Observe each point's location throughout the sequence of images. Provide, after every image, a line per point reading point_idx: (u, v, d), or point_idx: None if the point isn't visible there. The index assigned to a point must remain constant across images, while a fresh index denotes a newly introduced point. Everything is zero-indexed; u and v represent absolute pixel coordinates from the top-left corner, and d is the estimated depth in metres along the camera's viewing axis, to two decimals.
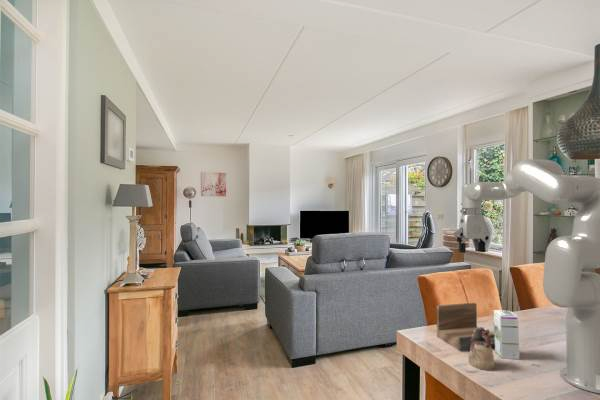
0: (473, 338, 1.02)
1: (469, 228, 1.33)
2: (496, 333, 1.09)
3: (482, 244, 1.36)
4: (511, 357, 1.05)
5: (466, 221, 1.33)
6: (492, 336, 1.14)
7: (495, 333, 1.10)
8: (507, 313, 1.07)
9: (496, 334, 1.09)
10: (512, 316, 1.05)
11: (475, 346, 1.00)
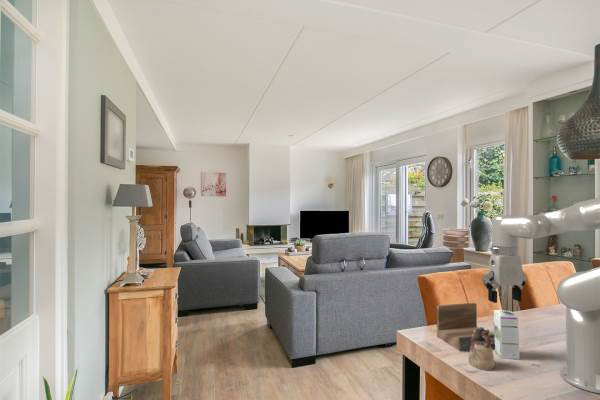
0: (473, 338, 1.02)
1: (502, 273, 1.05)
2: (496, 333, 1.09)
3: (517, 291, 1.09)
4: (511, 357, 1.05)
5: (498, 263, 1.06)
6: (492, 336, 1.14)
7: (495, 333, 1.10)
8: (507, 313, 1.07)
9: (496, 334, 1.09)
10: (512, 316, 1.05)
11: (475, 346, 1.00)
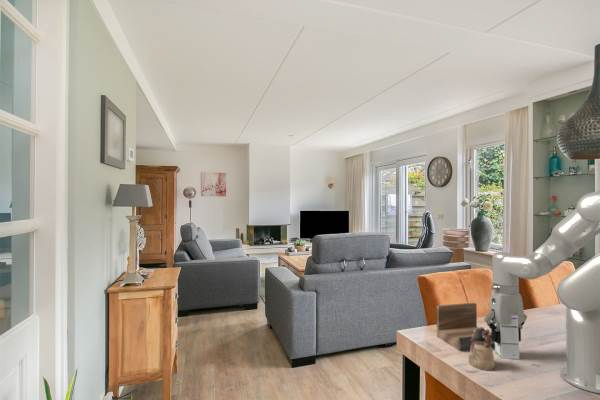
0: (473, 338, 1.02)
1: (503, 312, 1.05)
2: None
3: None
4: (511, 357, 1.05)
5: (499, 302, 1.05)
6: None
7: None
8: None
9: None
10: (512, 316, 1.05)
11: (475, 346, 1.00)
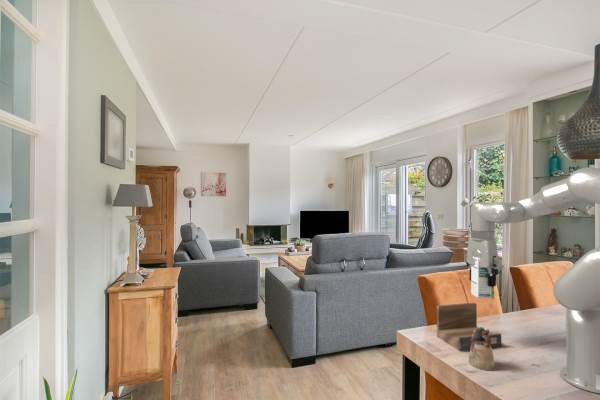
0: (473, 338, 1.02)
1: (469, 252, 1.20)
2: None
3: None
4: (474, 294, 1.17)
5: (468, 244, 1.21)
6: (492, 336, 1.14)
7: None
8: None
9: None
10: (475, 258, 1.17)
11: (475, 345, 1.00)
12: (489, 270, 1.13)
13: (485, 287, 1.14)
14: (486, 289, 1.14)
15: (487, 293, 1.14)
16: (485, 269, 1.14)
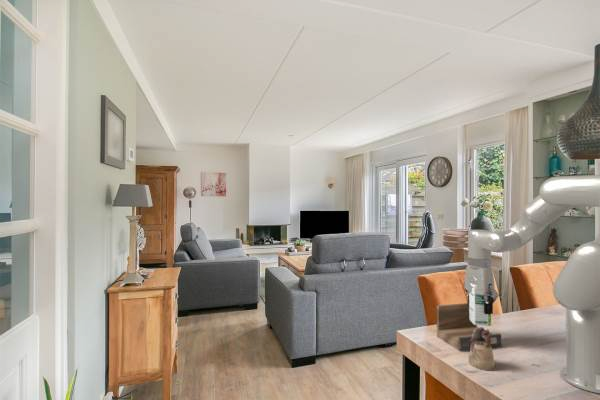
0: (473, 338, 1.02)
1: (466, 279, 1.21)
2: None
3: None
4: (472, 321, 1.18)
5: (466, 270, 1.22)
6: (492, 336, 1.14)
7: None
8: None
9: None
10: (472, 285, 1.18)
11: (475, 346, 1.00)
12: (485, 298, 1.14)
13: (482, 314, 1.15)
14: (483, 316, 1.15)
15: (484, 320, 1.15)
16: (481, 296, 1.16)
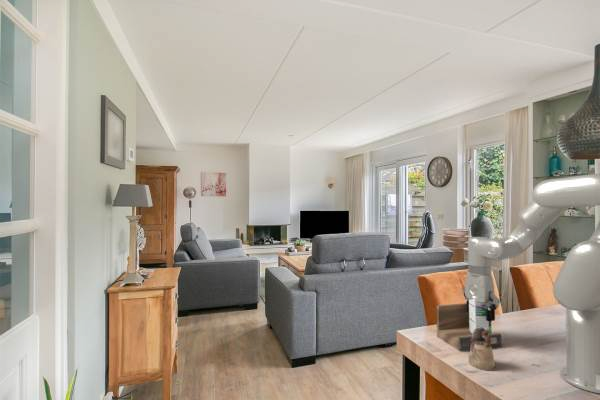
0: (473, 338, 1.02)
1: (467, 286, 1.21)
2: None
3: None
4: (472, 332, 1.18)
5: (466, 277, 1.22)
6: (492, 336, 1.14)
7: None
8: None
9: None
10: (472, 296, 1.18)
11: (475, 346, 1.00)
12: (487, 305, 1.13)
13: (483, 326, 1.15)
14: (484, 328, 1.15)
15: None
16: (482, 308, 1.16)
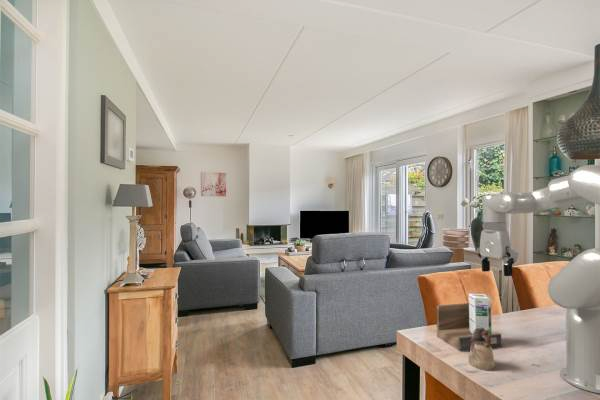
0: (473, 338, 1.02)
1: (482, 245, 1.20)
2: None
3: None
4: (472, 332, 1.18)
5: None
6: (492, 336, 1.14)
7: None
8: (476, 295, 1.19)
9: None
10: (472, 296, 1.18)
11: (475, 346, 1.00)
12: (504, 260, 1.13)
13: (483, 326, 1.15)
14: (484, 328, 1.15)
15: None
16: (482, 308, 1.16)
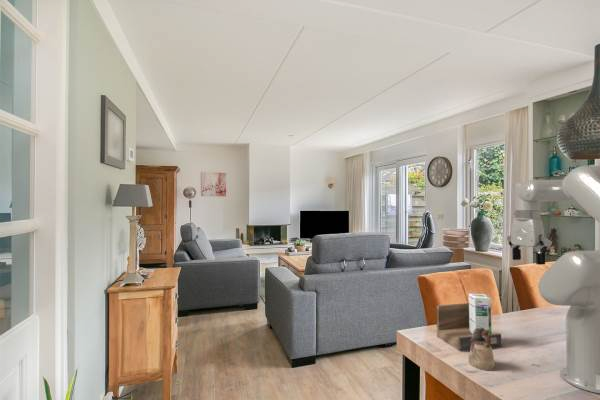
0: (473, 338, 1.02)
1: (513, 233, 1.19)
2: None
3: None
4: (472, 332, 1.18)
5: (512, 225, 1.21)
6: (492, 336, 1.14)
7: None
8: (476, 295, 1.19)
9: None
10: (472, 296, 1.18)
11: (475, 346, 1.00)
12: (537, 248, 1.12)
13: (483, 326, 1.15)
14: (484, 328, 1.15)
15: None
16: (482, 308, 1.16)
